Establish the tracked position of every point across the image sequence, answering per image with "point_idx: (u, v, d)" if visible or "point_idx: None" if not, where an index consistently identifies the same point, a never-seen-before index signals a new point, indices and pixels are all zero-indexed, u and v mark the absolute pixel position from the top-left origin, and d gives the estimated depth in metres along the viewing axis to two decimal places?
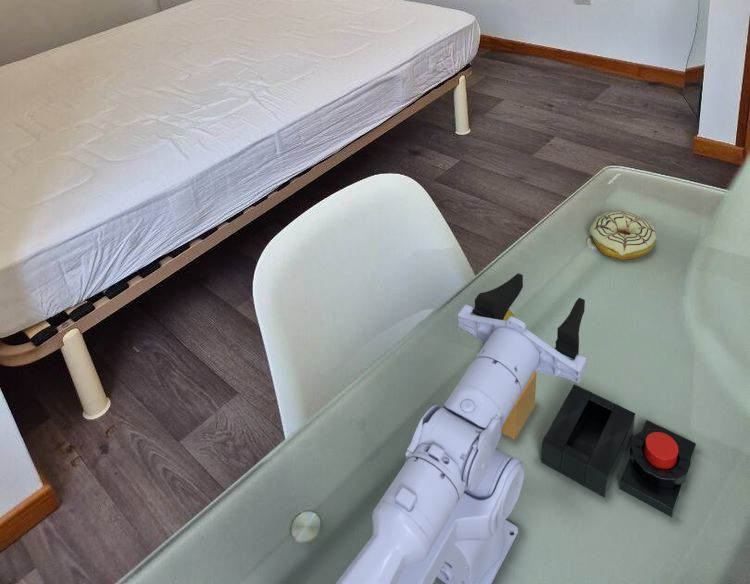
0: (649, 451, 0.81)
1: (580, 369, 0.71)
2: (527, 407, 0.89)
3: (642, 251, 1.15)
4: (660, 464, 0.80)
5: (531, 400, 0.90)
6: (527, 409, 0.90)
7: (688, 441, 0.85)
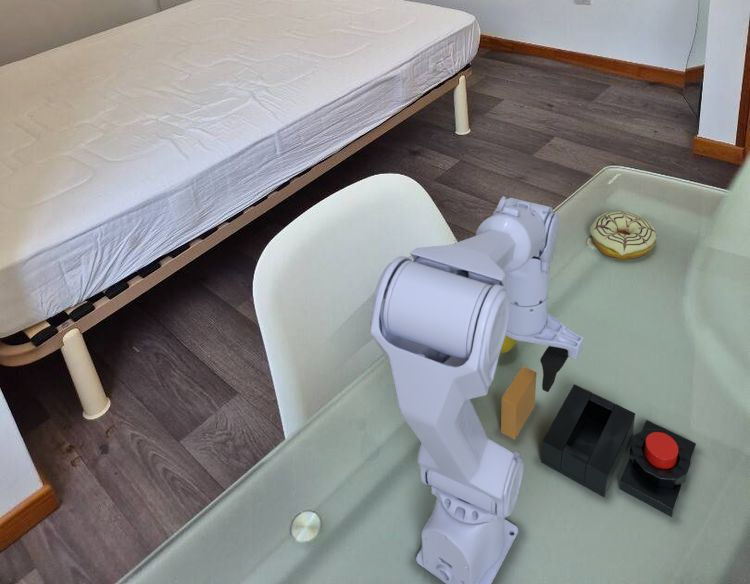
0: (649, 451, 0.81)
1: (582, 339, 0.80)
2: (527, 407, 0.89)
3: (642, 251, 1.15)
4: (660, 464, 0.80)
5: (531, 400, 0.90)
6: (527, 409, 0.90)
7: (688, 441, 0.85)
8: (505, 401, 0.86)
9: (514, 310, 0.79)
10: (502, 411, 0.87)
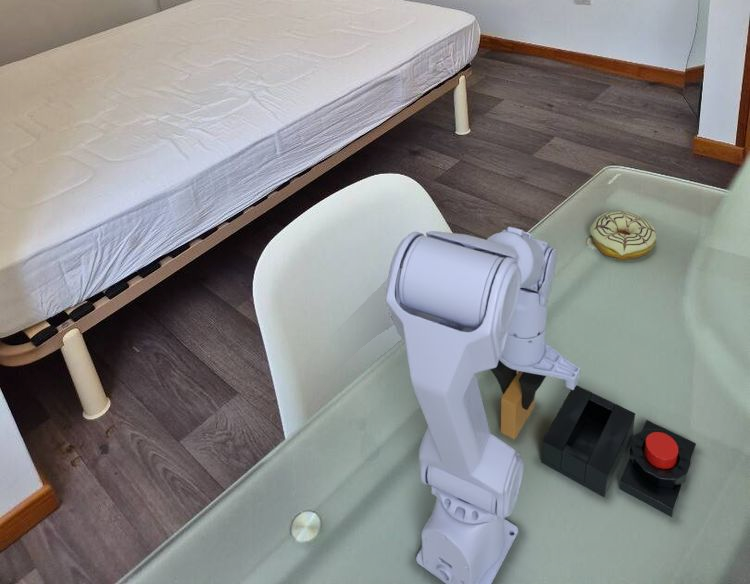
0: (649, 451, 0.81)
1: None
2: None
3: (642, 251, 1.15)
4: (660, 464, 0.80)
5: None
6: None
7: (688, 441, 0.85)
8: (505, 401, 0.86)
9: (513, 341, 0.81)
10: (502, 411, 0.87)
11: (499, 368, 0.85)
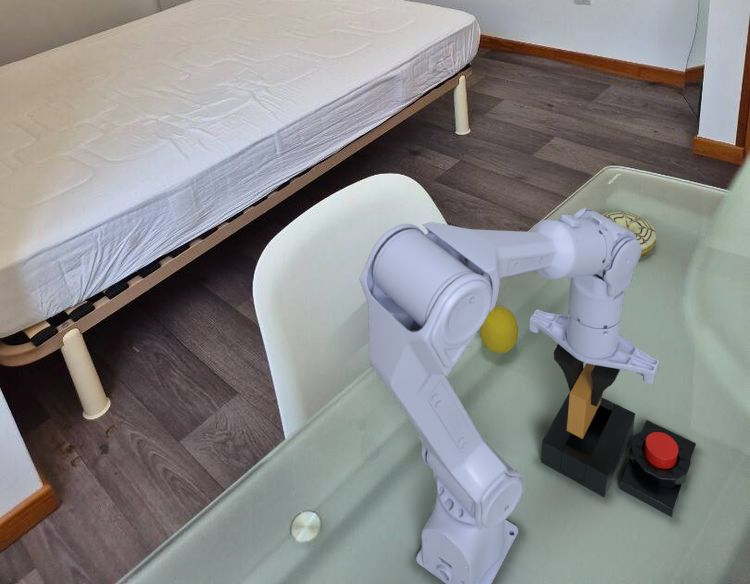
0: (649, 451, 0.81)
1: (658, 362, 0.75)
2: None
3: (642, 251, 1.15)
4: (660, 464, 0.80)
5: None
6: None
7: (688, 441, 0.85)
8: (574, 397, 0.80)
9: (587, 332, 0.75)
10: (569, 408, 0.81)
11: (568, 361, 0.79)
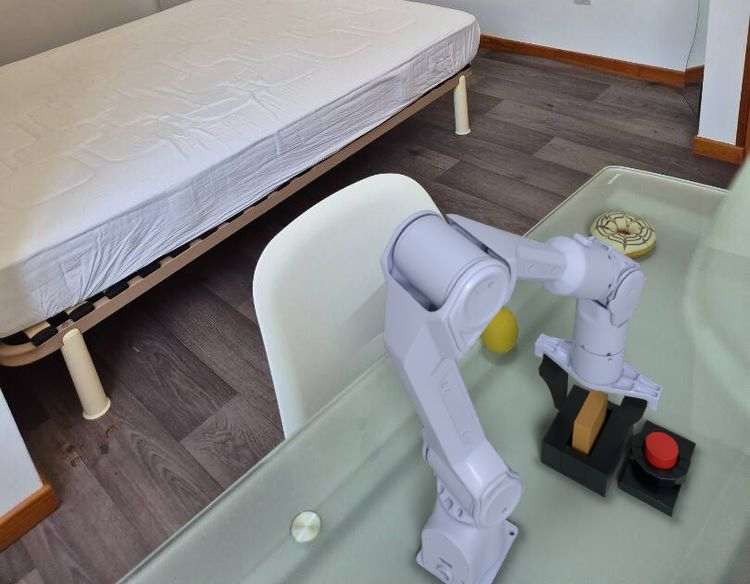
0: (649, 451, 0.81)
1: None
2: (598, 431, 0.85)
3: (642, 251, 1.15)
4: (660, 464, 0.80)
5: (602, 423, 0.86)
6: (598, 433, 0.85)
7: (688, 441, 0.85)
8: (578, 426, 0.81)
9: (591, 359, 0.76)
10: (574, 436, 0.83)
11: (552, 377, 0.81)
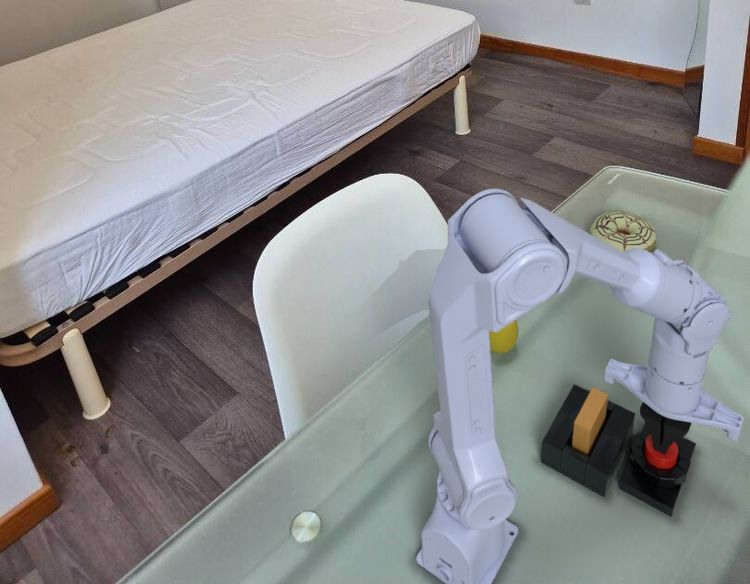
0: (649, 452, 0.81)
1: None
2: (598, 431, 0.85)
3: None
4: (660, 464, 0.80)
5: (602, 423, 0.86)
6: (598, 433, 0.85)
7: (688, 441, 0.85)
8: (578, 426, 0.81)
9: (670, 388, 0.74)
10: (574, 436, 0.83)
11: (656, 419, 0.77)
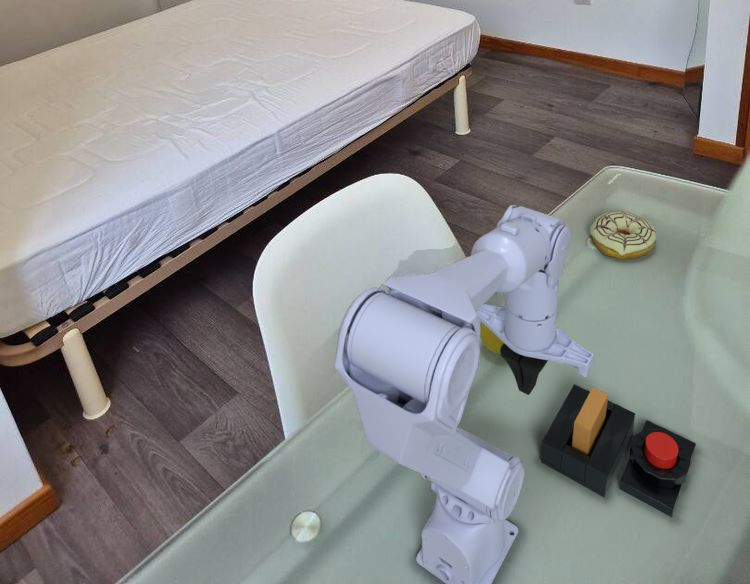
0: (649, 451, 0.81)
1: (593, 355, 0.76)
2: (598, 431, 0.85)
3: (642, 251, 1.15)
4: (660, 464, 0.80)
5: (602, 423, 0.86)
6: (598, 433, 0.85)
7: (688, 441, 0.85)
8: (578, 426, 0.81)
9: (521, 324, 0.75)
10: (574, 436, 0.83)
11: (514, 357, 0.79)
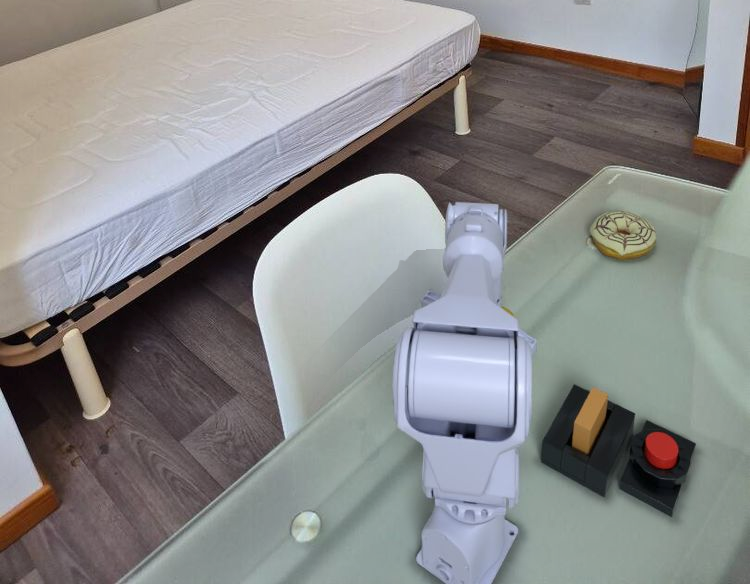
0: (649, 451, 0.81)
1: (536, 341, 0.78)
2: (598, 431, 0.85)
3: (642, 251, 1.15)
4: (660, 464, 0.80)
5: (602, 423, 0.86)
6: (598, 433, 0.85)
7: (688, 441, 0.85)
8: (578, 426, 0.81)
9: None
10: (574, 436, 0.83)
11: None
